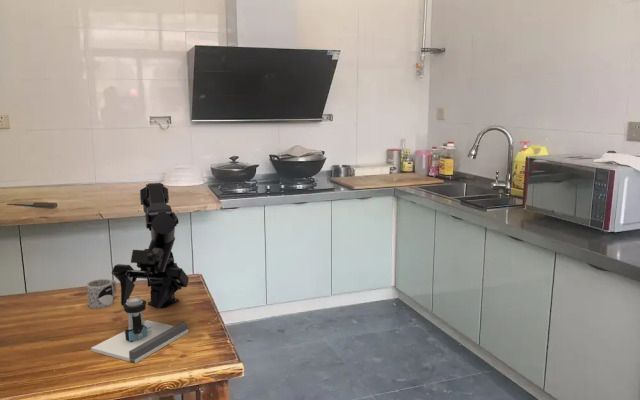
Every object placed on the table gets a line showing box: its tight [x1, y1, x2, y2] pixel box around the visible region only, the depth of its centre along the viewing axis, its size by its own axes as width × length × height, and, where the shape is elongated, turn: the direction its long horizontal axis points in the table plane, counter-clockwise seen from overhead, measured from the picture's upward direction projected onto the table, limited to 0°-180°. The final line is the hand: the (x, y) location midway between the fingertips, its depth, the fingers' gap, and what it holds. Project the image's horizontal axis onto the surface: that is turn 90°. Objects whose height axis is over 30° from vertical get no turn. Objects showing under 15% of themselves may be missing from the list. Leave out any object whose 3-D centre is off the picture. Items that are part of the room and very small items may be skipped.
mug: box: [86, 278, 118, 310], centre depth 151 cm, size 10×7×7 cm
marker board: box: [90, 319, 189, 364], centre depth 126 cm, size 18×14×2 cm
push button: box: [122, 296, 152, 342], centre depth 125 cm, size 7×5×10 cm
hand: (139, 306), depth 126 cm, fingers open, 9 cm apart
